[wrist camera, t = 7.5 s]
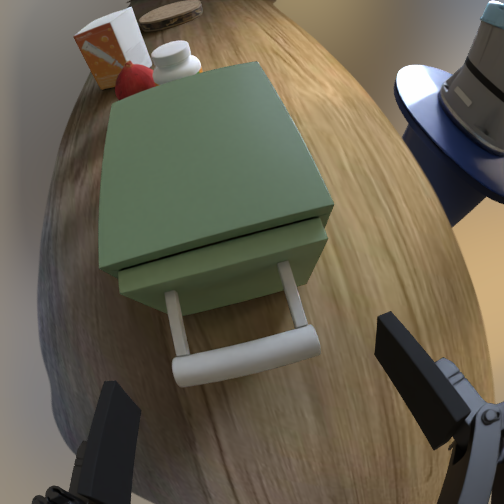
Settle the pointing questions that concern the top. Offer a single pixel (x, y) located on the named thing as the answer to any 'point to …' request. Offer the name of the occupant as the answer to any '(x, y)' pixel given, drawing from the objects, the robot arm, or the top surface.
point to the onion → (133, 80)
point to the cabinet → (202, 167)
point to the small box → (112, 46)
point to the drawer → (233, 296)
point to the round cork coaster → (171, 15)
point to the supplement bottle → (174, 62)
